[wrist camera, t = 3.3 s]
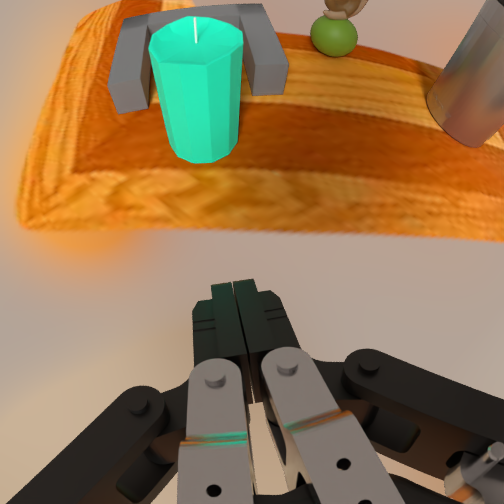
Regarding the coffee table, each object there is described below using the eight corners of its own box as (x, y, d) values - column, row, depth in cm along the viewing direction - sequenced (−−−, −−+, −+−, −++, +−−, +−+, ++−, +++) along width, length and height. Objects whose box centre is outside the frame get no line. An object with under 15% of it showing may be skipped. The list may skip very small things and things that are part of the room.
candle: (164, 120, 26) (141, 10, 15) (227, 105, 27) (230, -6, 16) (176, 172, 25) (149, 53, 13) (247, 154, 26) (260, 33, 14)
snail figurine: (364, 61, 31) (396, -16, 20) (324, 68, 30) (351, -20, 19) (338, 37, 33) (361, -36, 21) (297, 43, 31) (315, -40, 20)
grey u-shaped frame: (258, 28, 32) (261, 3, 28) (282, 94, 28) (289, 64, 24) (129, 43, 30) (123, 18, 26) (118, 114, 26) (107, 85, 22)
